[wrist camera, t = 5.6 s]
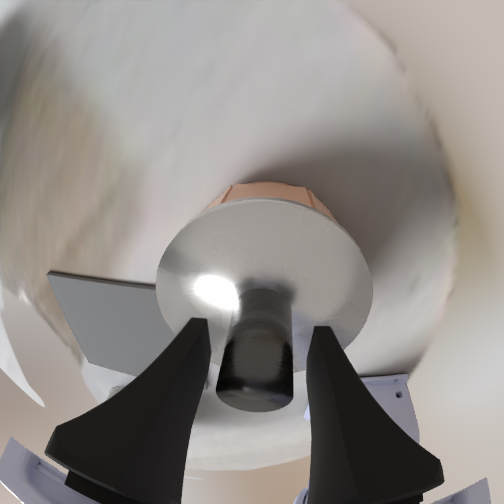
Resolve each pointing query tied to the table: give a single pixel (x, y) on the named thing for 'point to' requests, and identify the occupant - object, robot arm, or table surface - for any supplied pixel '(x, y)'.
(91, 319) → the mat
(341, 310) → the lid
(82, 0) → the table surface
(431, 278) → the table surface
